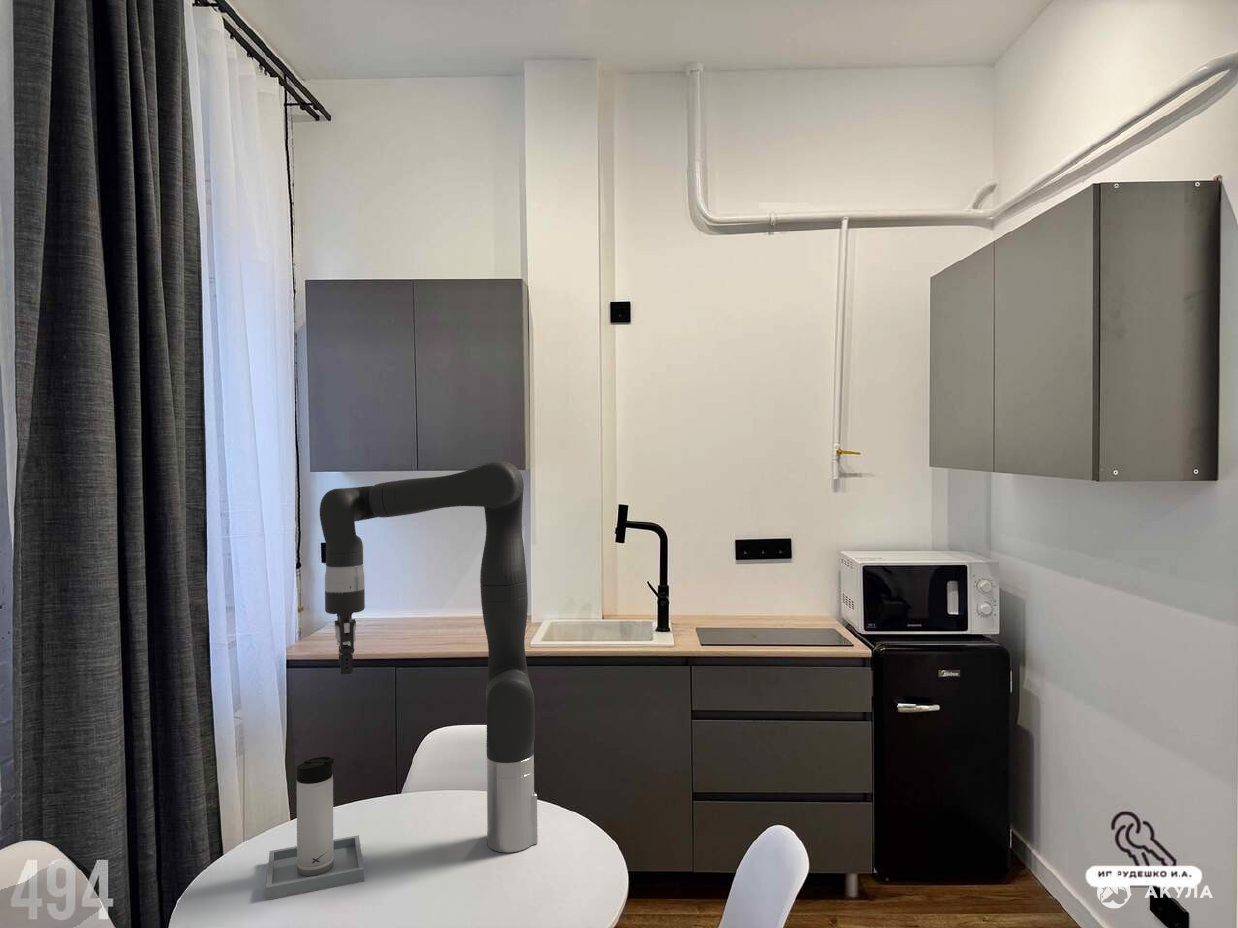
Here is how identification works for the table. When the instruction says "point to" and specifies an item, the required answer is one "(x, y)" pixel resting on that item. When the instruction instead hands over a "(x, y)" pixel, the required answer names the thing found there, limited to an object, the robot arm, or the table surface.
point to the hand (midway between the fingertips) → (345, 668)
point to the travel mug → (315, 816)
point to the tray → (290, 882)
